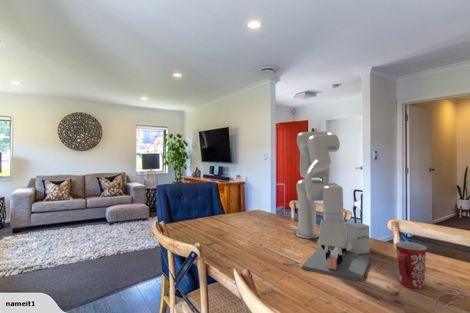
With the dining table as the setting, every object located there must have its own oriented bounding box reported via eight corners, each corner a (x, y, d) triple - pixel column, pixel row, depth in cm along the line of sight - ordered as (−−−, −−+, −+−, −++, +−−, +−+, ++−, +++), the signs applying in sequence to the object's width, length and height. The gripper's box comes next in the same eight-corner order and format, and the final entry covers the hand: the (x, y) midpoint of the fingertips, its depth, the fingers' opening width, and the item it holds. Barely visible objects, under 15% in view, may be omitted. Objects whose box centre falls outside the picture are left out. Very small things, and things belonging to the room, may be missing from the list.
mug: (403, 276, 100) (402, 239, 100) (431, 285, 93) (431, 246, 93) (385, 285, 93) (385, 246, 93) (415, 296, 86) (414, 254, 86)
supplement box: (356, 255, 122) (356, 227, 122) (345, 249, 129) (345, 223, 129) (370, 253, 124) (369, 225, 124) (358, 247, 131) (358, 221, 131)
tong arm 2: (331, 269, 103) (331, 259, 103) (341, 254, 118) (341, 245, 118) (336, 270, 102) (336, 259, 102) (345, 255, 118) (344, 246, 118)
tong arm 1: (327, 268, 104) (327, 258, 104) (336, 253, 119) (336, 244, 119) (331, 269, 103) (331, 258, 103) (340, 254, 119) (340, 245, 119)
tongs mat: (301, 268, 108) (301, 265, 108) (318, 250, 128) (318, 247, 128) (362, 281, 96) (362, 278, 96) (370, 259, 116) (370, 256, 116)
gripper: (309, 216, 108) (310, 262, 108) (354, 220, 99) (355, 270, 99) (315, 212, 115) (315, 256, 114) (357, 216, 106) (358, 263, 106)
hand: (334, 262), depth 107 cm, fingers open, 3 cm apart
